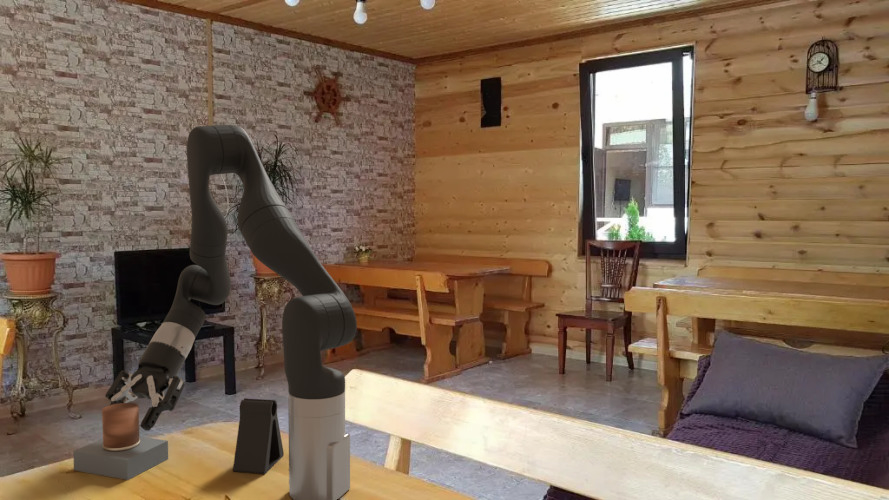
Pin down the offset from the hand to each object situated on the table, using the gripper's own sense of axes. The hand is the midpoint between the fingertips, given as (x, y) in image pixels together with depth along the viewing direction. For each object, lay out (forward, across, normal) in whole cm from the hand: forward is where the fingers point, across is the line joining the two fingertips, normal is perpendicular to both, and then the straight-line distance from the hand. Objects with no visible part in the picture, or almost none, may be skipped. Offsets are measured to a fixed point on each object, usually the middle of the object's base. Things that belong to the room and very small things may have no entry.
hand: (125, 425), depth 126 cm
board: (+6, 0, +4) cm, 7 cm away
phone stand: (0, +23, +11) cm, 25 cm away
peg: (+5, 0, +4) cm, 7 cm away
